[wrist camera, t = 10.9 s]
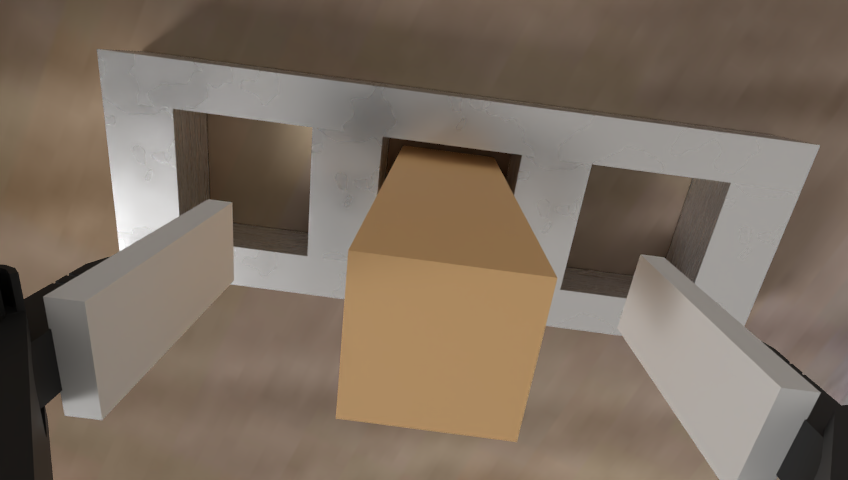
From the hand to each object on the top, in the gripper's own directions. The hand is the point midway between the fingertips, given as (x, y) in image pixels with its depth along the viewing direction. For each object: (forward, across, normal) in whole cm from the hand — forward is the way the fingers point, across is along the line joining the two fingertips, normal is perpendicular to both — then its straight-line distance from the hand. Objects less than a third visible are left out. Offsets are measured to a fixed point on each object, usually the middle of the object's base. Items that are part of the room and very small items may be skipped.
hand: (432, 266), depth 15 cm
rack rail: (+9, 0, 0) cm, 9 cm away
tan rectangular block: (+9, 0, 0) cm, 9 cm away
